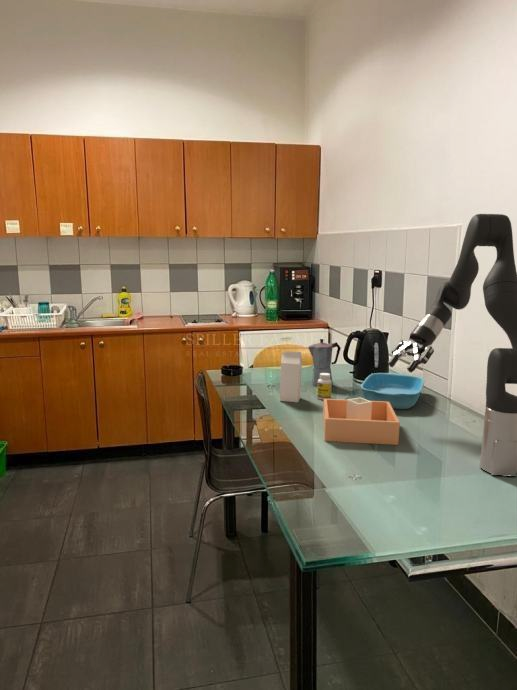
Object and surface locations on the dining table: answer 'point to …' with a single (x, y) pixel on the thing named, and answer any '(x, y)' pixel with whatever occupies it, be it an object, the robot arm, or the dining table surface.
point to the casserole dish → (393, 389)
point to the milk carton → (290, 376)
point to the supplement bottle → (324, 386)
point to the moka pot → (322, 359)
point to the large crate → (360, 424)
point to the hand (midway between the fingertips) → (399, 368)
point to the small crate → (359, 409)
